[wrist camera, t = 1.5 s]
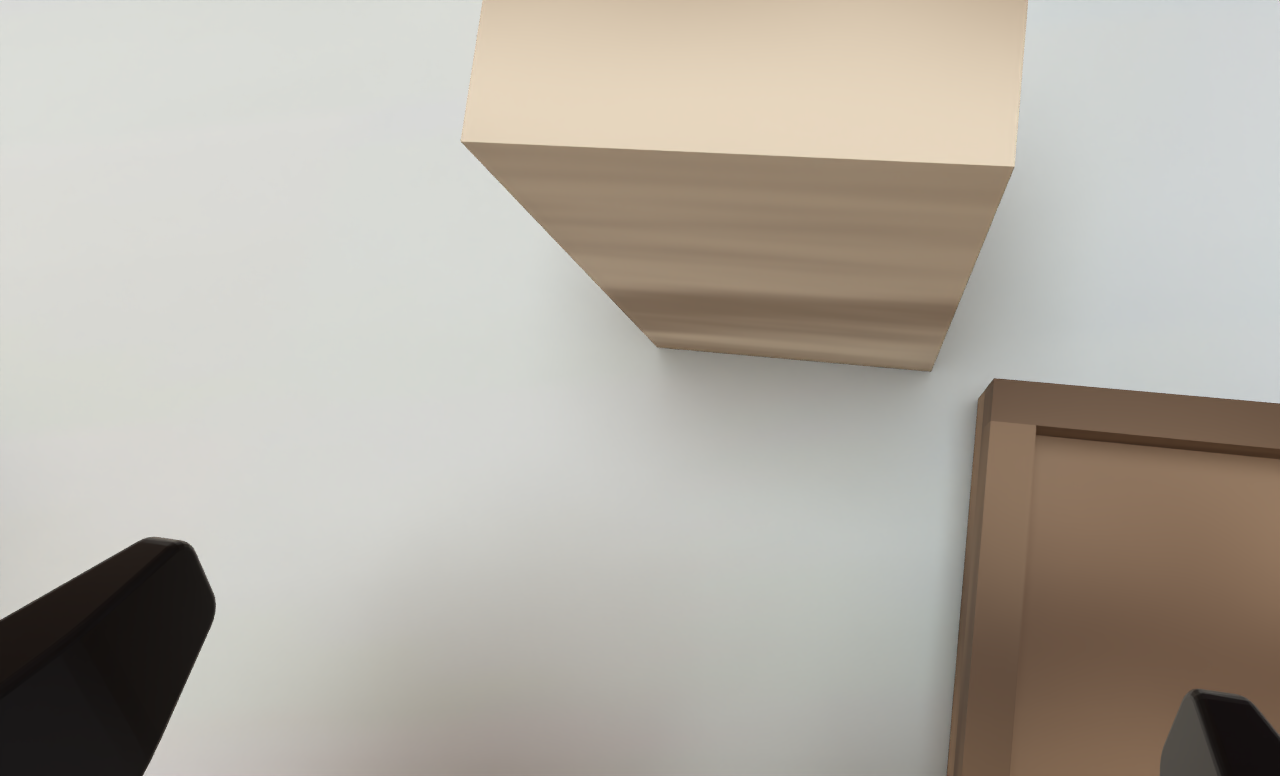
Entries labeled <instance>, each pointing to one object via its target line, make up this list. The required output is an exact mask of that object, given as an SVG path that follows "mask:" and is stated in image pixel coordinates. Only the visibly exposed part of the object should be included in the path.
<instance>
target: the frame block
mask: <svg viewBox="0 0 1280 776" xmlns="http://www.w3.org/2000/svg"><path fill="white" fill-rule="evenodd" d="M1027 6H1028V0H483V2H482V8H481V15H480V21H479V27H478V34H477V40H476V47H475V53H474V59H473V66H472V72H471V78H470V85H469V91H468V98H467V104H466V110H465V117H464V123H463V129H462V136H461V142H462V143H463V144H464V145H465V147H466V148H467V149H468V150H469V151H470V152H471V153H472V154H473V155H474V156H475V157H476V158H477V159H478V160H479V161H480V162H481V163H482V164H483V165H484V166H485V167H486V169H487V170H488V171H489V172H490V173H491V174H492V175H493V176H494V177H495V178H496V179H497V180H498V181H499V182H500V183H501V184H502V185H503V186H504V187H505V188H506V189H507V191H508V192H509V193H510V194H511V195H512V196H513V197H514V198H515V199H516V200H517V201H518V202H519V203H520V204H521V205H522V206H523V207H524V208H525V209H526V210H527V211H528V213H529V214H530V215H531V216H532V217H533V218H534V219H535V220H536V221H537V222H538V223H539V224H540V225H541V226H542V227H543V228H544V229H545V230H546V231H547V232H548V233H549V235H550V236H551V237H552V238H553V239H554V240H555V241H556V242H557V243H558V244H559V245H560V246H561V247H562V248H563V249H564V250H565V251H566V252H567V253H568V254H569V255H570V256H571V258H572V259H573V260H574V261H575V262H576V263H577V264H578V265H579V266H580V267H581V268H582V269H583V270H584V271H585V272H586V273H587V274H588V275H589V276H590V277H591V278H592V280H593V281H594V282H595V283H596V284H597V285H598V286H599V287H600V288H601V289H602V290H603V291H604V292H605V293H606V294H607V295H608V296H609V297H610V298H611V299H612V300H613V302H614V303H615V304H616V305H617V306H618V307H619V308H620V309H621V310H622V311H623V312H624V313H625V314H626V315H627V316H628V317H629V318H630V319H631V320H632V321H633V322H634V324H635V325H636V326H637V327H638V328H639V329H640V330H641V331H642V332H643V333H644V334H645V335H646V336H647V337H648V338H649V339H650V340H651V341H652V342H653V343H654V344H655V346H656V347H659V348H670V349H682V350H693V351H704V352H715V353H727V354H738V355H749V356H761V357H772V358H783V359H795V360H806V361H817V362H829V363H840V364H851V365H863V366H874V367H885V368H897V369H908V370H919V371H930V372H931V371H932V368H933V366H934V363H935V361H936V358H937V356H938V353H939V351H940V349H941V346H942V344H943V341H944V339H945V336H946V334H947V331H948V329H949V326H950V324H951V321H952V319H953V317H954V314H955V312H956V309H957V307H958V304H959V302H960V299H961V297H962V294H963V292H964V289H965V287H966V285H967V282H968V280H969V277H970V275H971V272H972V270H973V267H974V265H975V262H976V260H977V258H978V255H979V253H980V250H981V248H982V245H983V243H984V240H985V238H986V235H987V233H988V230H989V228H990V226H991V223H992V221H993V218H994V216H995V213H996V211H997V208H998V206H999V203H1000V201H1001V198H1002V196H1003V194H1004V191H1005V189H1006V186H1007V184H1008V181H1009V179H1010V176H1011V174H1012V171H1013V169H1014V166H1015V154H1016V142H1017V129H1018V117H1019V105H1020V92H1021V80H1022V68H1023V55H1024V43H1025V31H1026V19H1027Z"/></svg>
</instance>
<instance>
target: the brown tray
mask: <svg viewBox="0 0 1280 776" xmlns="http://www.w3.org/2000/svg"><path fill="white" fill-rule="evenodd" d="M1192 689H1205V690H1212V691H1219V692H1226V693H1233V694H1238V695H1241V696H1244V697H1246V698H1247V699H1249V700H1250V701H1251V702H1252V703H1254V704H1255V706H1256V707H1257V708H1258V709H1259V710H1260V712H1261V713H1262V714H1263V715H1264V717H1265V718H1266V719H1267V720H1268V721H1269V723H1270V724H1271V725H1272V726H1273V728H1274V729H1275V730H1276V731H1277V733H1278V734H1279V735H1280V404H1278V403H1266V402H1255V401H1244V400H1233V399H1221V398H1210V397H1199V396H1187V395H1176V394H1165V393H1154V392H1142V391H1131V390H1120V389H1108V388H1097V387H1086V386H1075V385H1063V384H1052V383H1041V382H1029V381H1018V380H1007V379H995V378H994V379H993V381H992V382H991V383H990V384H989V386H988V387H987V388H986V390H985V391H984V392H983V393H982V395H981V396H980V397H979V399H978V408H977V420H976V432H975V444H974V456H973V468H972V480H971V492H970V504H969V515H968V527H967V539H966V551H965V563H964V575H963V587H962V599H961V611H960V623H959V635H958V647H957V659H956V671H955V683H954V695H953V707H952V719H951V731H950V743H949V755H948V767H947V776H1160V760H1161V754H1162V750H1163V747H1164V744H1165V741H1166V739H1167V737H1168V734H1169V732H1170V729H1171V727H1172V724H1173V722H1174V719H1175V717H1176V715H1177V712H1178V710H1179V707H1180V705H1181V702H1182V700H1183V698H1184V696H1185V695H1186V694H1187V693H1188V692H1189V691H1190V690H1192Z"/></svg>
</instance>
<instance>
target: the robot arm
mask: <svg viewBox="0 0 1280 776" xmlns="http://www.w3.org/2000/svg"><path fill="white" fill-rule="evenodd" d="M215 609H216V602H215V596H214V593H213V591H212V589H211V586H210V584H209V582H208V579H207V577H206V575H205V572H204V570H203V568H202V566H201V563H200V561H199V559H198V556H197V554H196V552H195V550H194V548H193V547H192V546H191V545H190V544H188V543H187V542H185V541H181V540H174V539H167V538H161V537H149V538H145V539H142V540H140V541H138V542H136V543H135V544H133V545H131V546H129V547H128V548H126V549H124V550H122V551H121V552H119V553H117V554H115V555H113V556H112V557H110V558H108V559H106V560H105V561H103V562H101V563H99V564H98V565H96V566H94V567H92V568H91V569H89V570H87V571H85V572H84V573H82V574H80V575H78V576H77V577H75V578H73V579H71V580H70V581H68V582H66V583H64V584H63V585H61V586H59V587H57V588H56V589H54V590H52V591H50V592H49V593H47V594H45V595H43V596H42V597H40V598H38V599H36V600H35V601H33V602H31V603H29V604H28V605H26V606H24V607H22V608H21V609H19V610H17V611H15V612H14V613H12V614H10V615H8V616H7V617H5V618H3V619H1V620H0V776H143V774H144V772H145V770H146V769H147V767H148V765H149V763H150V761H151V759H152V757H153V755H154V752H155V750H156V748H157V746H158V744H159V742H160V740H161V738H162V736H163V733H164V731H165V729H166V727H167V724H168V722H169V720H170V718H171V715H172V713H173V711H174V709H175V706H176V704H177V702H178V700H179V697H180V695H181V693H182V691H183V688H184V686H185V684H186V682H187V679H188V677H189V675H190V673H191V670H192V668H193V666H194V664H195V661H196V659H197V657H198V655H199V652H200V650H201V648H202V645H203V643H204V641H205V639H206V636H207V634H208V632H209V630H210V627H211V625H212V622H213V620H214V615H215ZM1160 776H1280V735H1279V734H1278V733H1277V731H1276V730H1275V729H1274V728H1273V726H1272V725H1271V724H1270V723H1269V721H1268V720H1267V719H1266V718H1265V717H1264V715H1263V714H1262V713H1261V712H1260V710H1259V709H1258V708H1257V707H1256V706H1255V704H1254V703H1252V702H1251V701H1250V700H1249V699H1247V698H1246V697H1244V696H1241V695H1238V694H1233V693H1226V692H1219V691H1212V690H1205V689H1192V690H1190V691H1189V692H1188V693H1187V694H1186V695H1185V696H1184V698H1183V700H1182V702H1181V705H1180V707H1179V710H1178V712H1177V715H1176V717H1175V719H1174V722H1173V724H1172V727H1171V729H1170V732H1169V734H1168V737H1167V739H1166V741H1165V744H1164V747H1163V750H1162V754H1161V760H1160Z"/></svg>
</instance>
